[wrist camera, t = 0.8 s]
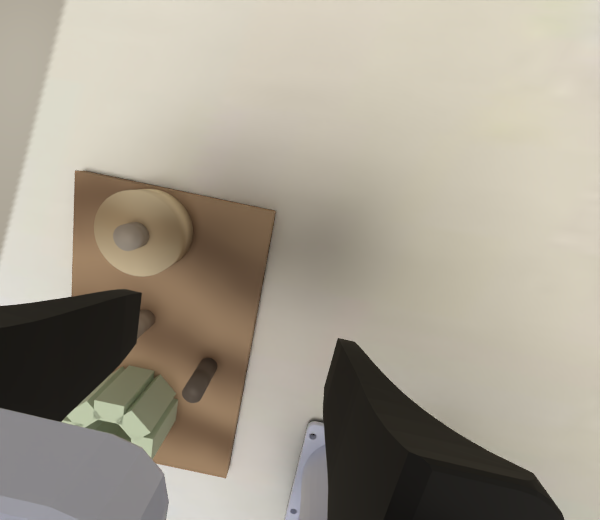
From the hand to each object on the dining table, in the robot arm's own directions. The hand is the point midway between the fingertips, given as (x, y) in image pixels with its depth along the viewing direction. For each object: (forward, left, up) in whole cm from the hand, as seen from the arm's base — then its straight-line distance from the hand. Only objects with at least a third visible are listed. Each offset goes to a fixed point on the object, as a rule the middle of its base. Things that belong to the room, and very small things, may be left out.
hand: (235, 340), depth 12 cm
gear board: (-6, +6, -10) cm, 13 cm away
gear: (-11, +7, -9) cm, 16 cm away
